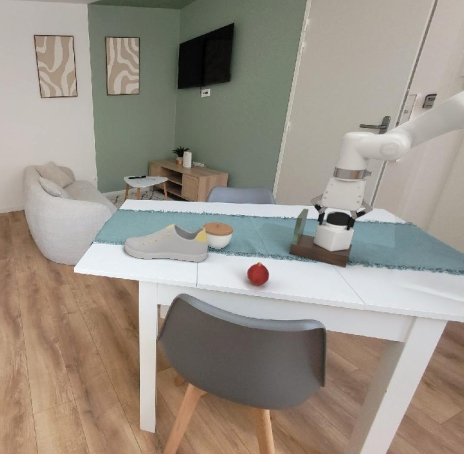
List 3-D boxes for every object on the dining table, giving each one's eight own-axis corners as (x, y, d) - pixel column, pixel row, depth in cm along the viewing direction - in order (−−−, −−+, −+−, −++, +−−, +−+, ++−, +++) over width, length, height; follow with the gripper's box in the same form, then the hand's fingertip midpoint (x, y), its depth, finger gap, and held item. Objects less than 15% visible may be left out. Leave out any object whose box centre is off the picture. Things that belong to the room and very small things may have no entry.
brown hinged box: (348, 254, 101) (360, 217, 96) (345, 267, 94) (357, 228, 88) (295, 242, 111) (303, 208, 106) (289, 253, 104) (297, 217, 99)
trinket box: (203, 238, 119) (205, 217, 116) (231, 242, 115) (234, 220, 111) (199, 249, 110) (201, 227, 107) (229, 254, 106) (232, 230, 102)
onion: (250, 277, 92) (254, 255, 89) (269, 284, 88) (274, 261, 85) (242, 285, 88) (245, 262, 85) (262, 293, 84) (266, 269, 81)
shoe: (206, 266, 99) (209, 234, 94) (121, 256, 108) (121, 226, 104) (206, 252, 108) (209, 222, 103) (128, 244, 117) (128, 216, 113)
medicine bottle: (349, 249, 97) (359, 215, 92) (330, 252, 96) (339, 218, 91) (330, 240, 103) (338, 208, 99) (312, 243, 102) (320, 211, 98)
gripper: (387, 174, 87) (369, 228, 94) (317, 168, 98) (305, 217, 105) (386, 179, 82) (367, 236, 89) (313, 173, 93) (301, 224, 100)
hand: (334, 226), depth 97 cm, fingers closed on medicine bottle, 6 cm apart
